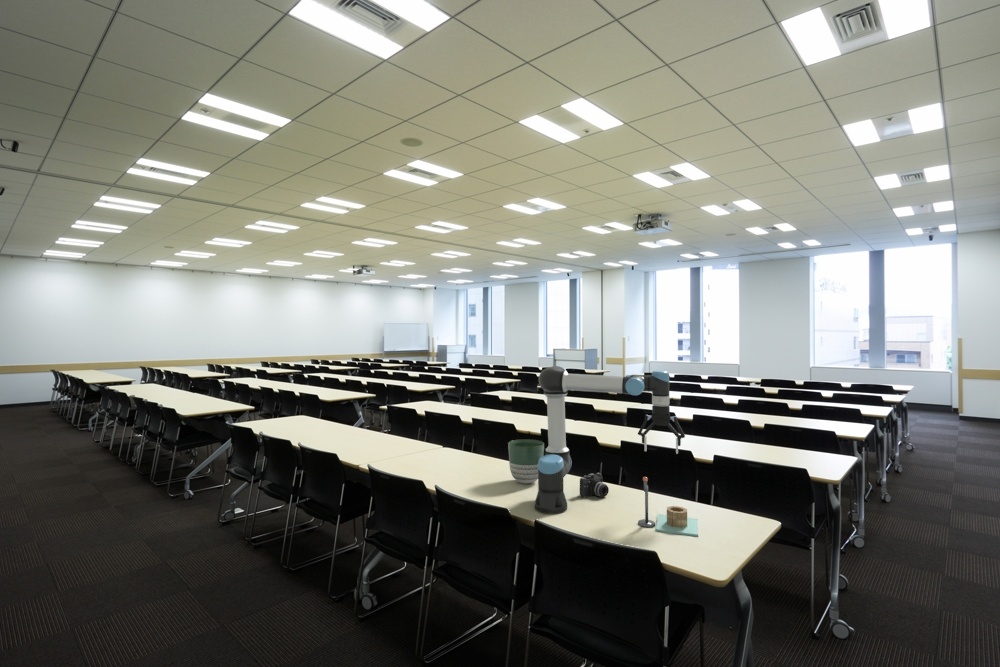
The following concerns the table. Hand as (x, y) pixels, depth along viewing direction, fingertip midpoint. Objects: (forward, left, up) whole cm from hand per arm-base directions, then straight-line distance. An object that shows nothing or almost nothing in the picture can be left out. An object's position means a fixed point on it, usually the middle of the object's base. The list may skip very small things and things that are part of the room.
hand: (661, 451), depth 223 cm
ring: (+7, -16, -26) cm, 31 cm away
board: (+7, -16, -27) cm, 32 cm away
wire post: (-5, -21, -27) cm, 34 cm away
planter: (-71, +20, -27) cm, 79 cm away
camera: (-32, +11, -27) cm, 43 cm away
